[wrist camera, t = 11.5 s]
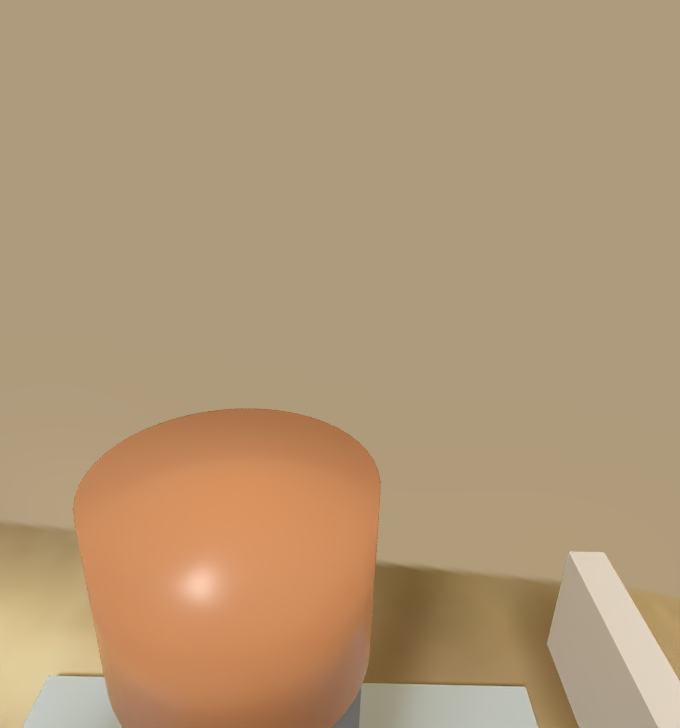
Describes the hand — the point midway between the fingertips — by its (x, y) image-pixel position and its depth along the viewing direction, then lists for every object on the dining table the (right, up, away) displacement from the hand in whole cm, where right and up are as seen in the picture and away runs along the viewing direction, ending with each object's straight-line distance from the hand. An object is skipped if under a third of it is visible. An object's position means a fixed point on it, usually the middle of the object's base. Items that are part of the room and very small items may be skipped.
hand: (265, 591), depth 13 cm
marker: (0, -8, 0) cm, 8 cm away
